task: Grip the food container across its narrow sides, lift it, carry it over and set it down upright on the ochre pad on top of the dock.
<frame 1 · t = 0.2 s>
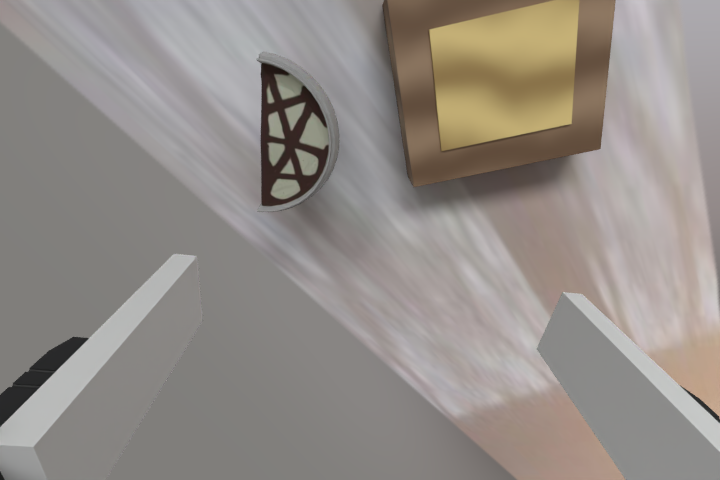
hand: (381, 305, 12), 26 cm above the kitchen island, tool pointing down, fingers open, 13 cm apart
food container: (311, 128, 35), on the kitchen island
dock: (487, 79, 33), on the kitchen island
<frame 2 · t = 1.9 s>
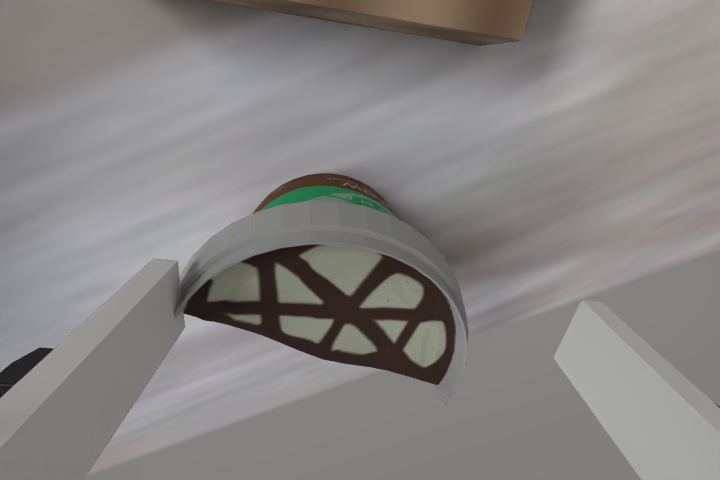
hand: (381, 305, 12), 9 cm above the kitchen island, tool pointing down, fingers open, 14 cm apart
food container: (343, 205, 21), on the kitchen island, touching gripper
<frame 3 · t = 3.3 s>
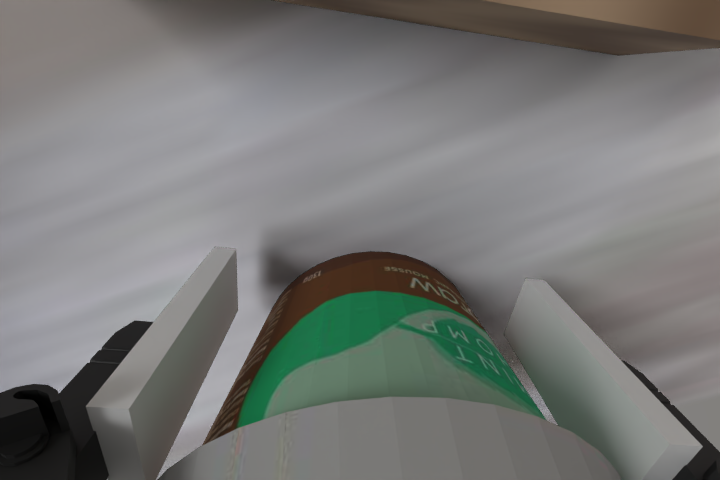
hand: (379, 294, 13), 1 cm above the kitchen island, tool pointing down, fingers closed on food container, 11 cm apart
food container: (398, 292, 15), on the kitchen island, touching gripper
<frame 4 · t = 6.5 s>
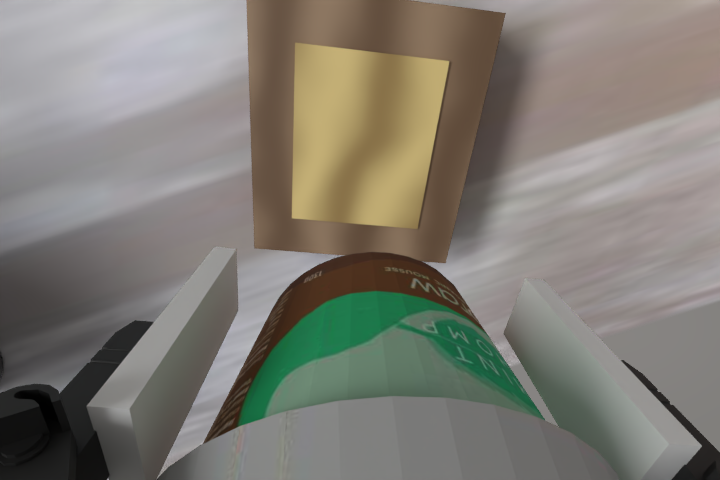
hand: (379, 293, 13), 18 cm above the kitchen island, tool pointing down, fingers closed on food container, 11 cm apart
food container: (398, 293, 15), point 17 cm above the kitchen island, touching gripper
dock: (361, 137, 28), on the kitchen island
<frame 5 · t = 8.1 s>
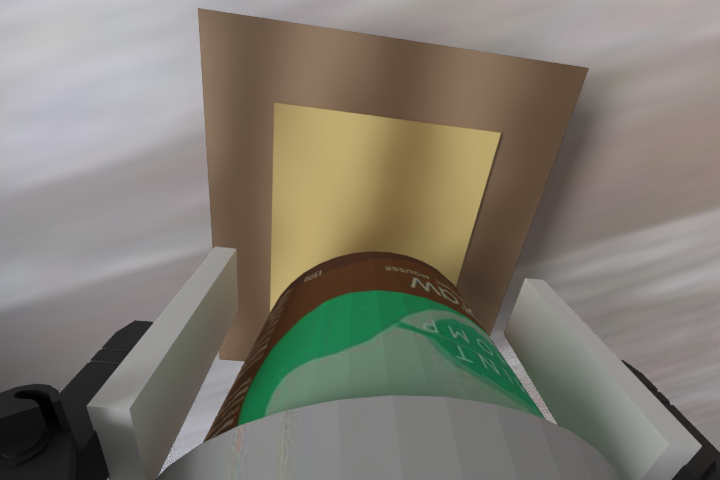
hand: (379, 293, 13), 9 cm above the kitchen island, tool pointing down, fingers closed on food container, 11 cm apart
food container: (399, 292, 15), point 7 cm above the kitchen island, touching gripper
dock: (367, 212, 21), on the kitchen island
when the fingers open (7 cm above the kitchen island, at t = 9.5 s): food container drops 1 cm, resting on dock.
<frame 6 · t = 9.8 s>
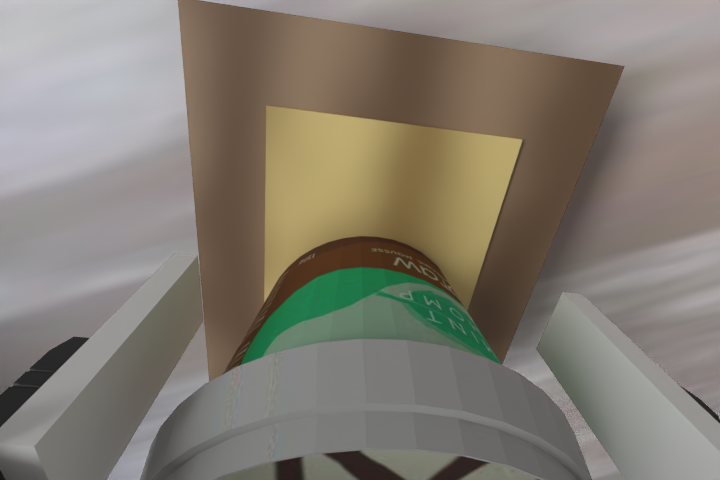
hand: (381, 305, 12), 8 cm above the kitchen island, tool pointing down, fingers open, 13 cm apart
food container: (387, 275, 16), point 4 cm above the kitchen island, touching dock
dock: (370, 223, 19), on the kitchen island
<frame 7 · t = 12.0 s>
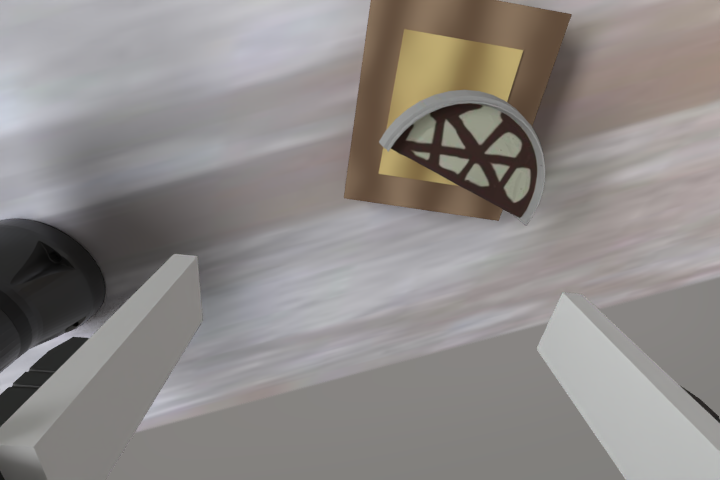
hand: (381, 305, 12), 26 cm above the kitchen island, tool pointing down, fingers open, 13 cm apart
food container: (450, 127, 31), point 4 cm above the kitchen island, touching dock
dock: (436, 112, 34), on the kitchen island
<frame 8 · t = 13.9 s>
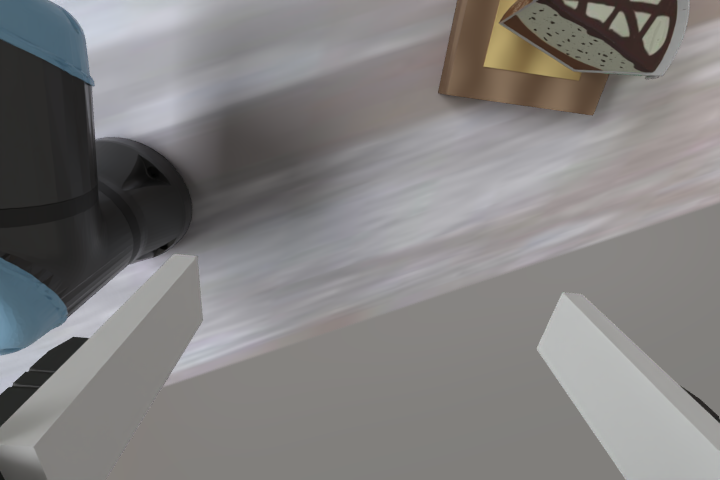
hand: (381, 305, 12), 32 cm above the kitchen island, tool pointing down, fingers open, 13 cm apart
food container: (556, 15, 32), point 4 cm above the kitchen island, touching dock
dock: (532, 10, 36), on the kitchen island
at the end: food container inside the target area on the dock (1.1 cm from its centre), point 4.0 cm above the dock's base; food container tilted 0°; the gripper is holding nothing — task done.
